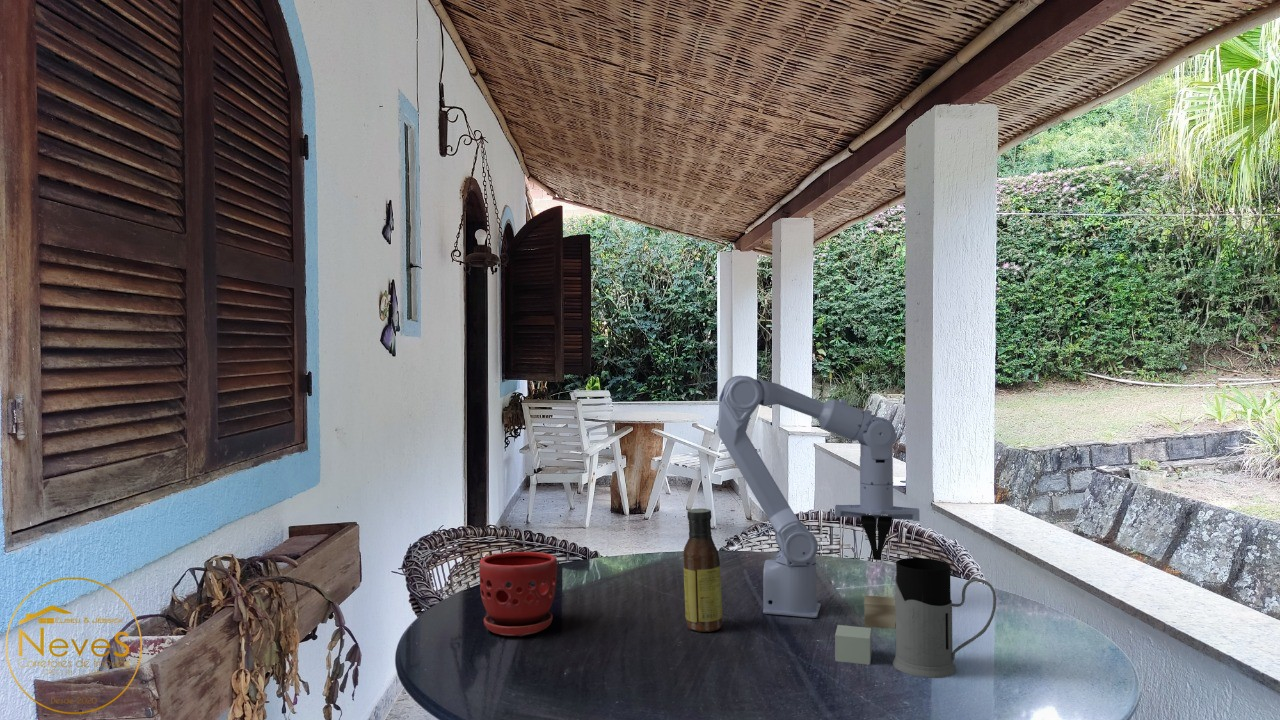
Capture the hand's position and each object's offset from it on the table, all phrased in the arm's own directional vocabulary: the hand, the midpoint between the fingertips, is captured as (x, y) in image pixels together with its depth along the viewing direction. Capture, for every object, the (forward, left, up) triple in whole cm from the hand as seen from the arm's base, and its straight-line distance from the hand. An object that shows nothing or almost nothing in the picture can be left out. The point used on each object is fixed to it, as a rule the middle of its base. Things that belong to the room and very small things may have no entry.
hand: (877, 558), depth 144 cm
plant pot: (-58, -27, -10) cm, 65 cm away
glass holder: (+10, -27, -10) cm, 30 cm away
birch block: (0, -7, -10) cm, 12 cm away
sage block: (-3, -25, -10) cm, 27 cm away
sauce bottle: (-28, -18, -10) cm, 35 cm away
